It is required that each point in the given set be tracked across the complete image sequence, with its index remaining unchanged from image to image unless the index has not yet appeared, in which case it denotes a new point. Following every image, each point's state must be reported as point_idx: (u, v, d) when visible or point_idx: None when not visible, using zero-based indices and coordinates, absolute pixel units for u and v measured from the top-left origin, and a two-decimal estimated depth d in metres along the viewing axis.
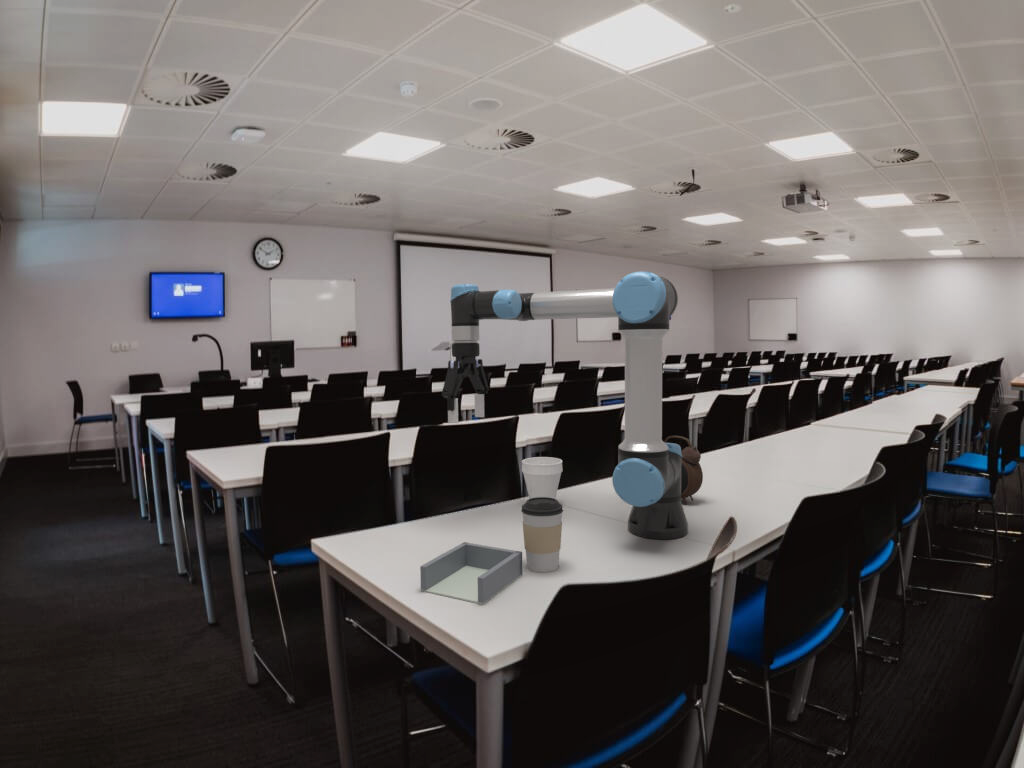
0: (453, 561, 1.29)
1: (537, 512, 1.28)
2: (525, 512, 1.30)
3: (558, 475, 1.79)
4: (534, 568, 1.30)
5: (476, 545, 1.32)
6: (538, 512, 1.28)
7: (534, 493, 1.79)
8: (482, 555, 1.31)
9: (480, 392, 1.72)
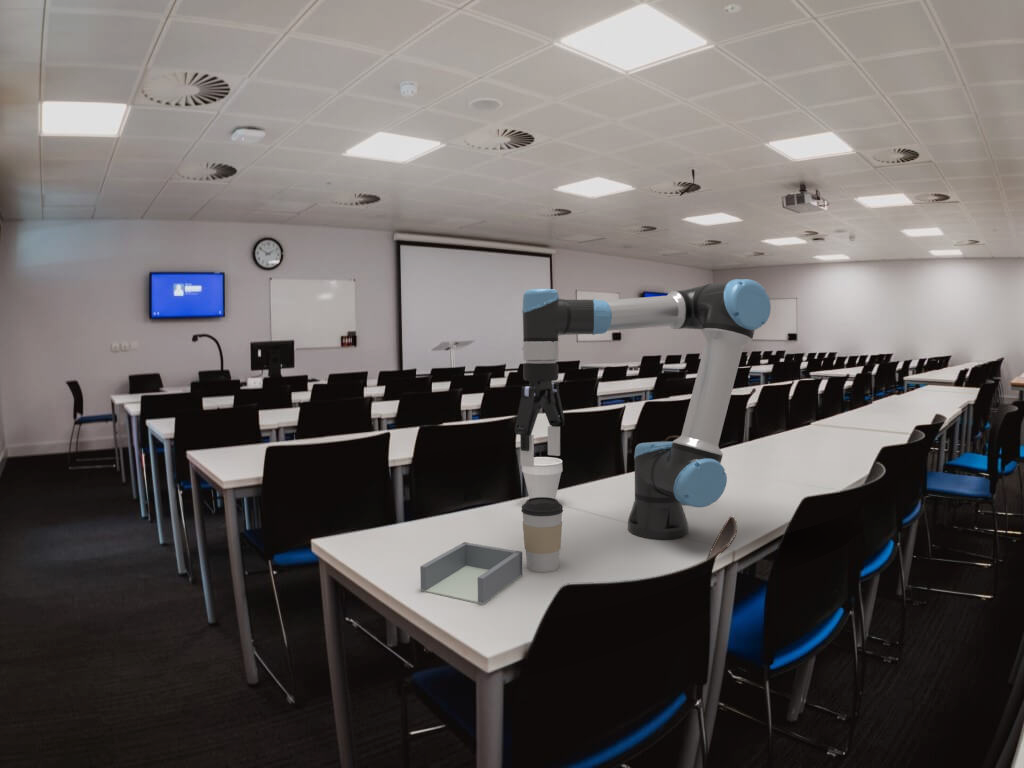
0: (453, 561, 1.29)
1: (537, 512, 1.28)
2: (525, 512, 1.30)
3: (558, 475, 1.79)
4: (534, 568, 1.30)
5: (476, 545, 1.32)
6: (538, 512, 1.28)
7: (534, 493, 1.79)
8: (482, 555, 1.31)
9: (555, 424, 1.37)
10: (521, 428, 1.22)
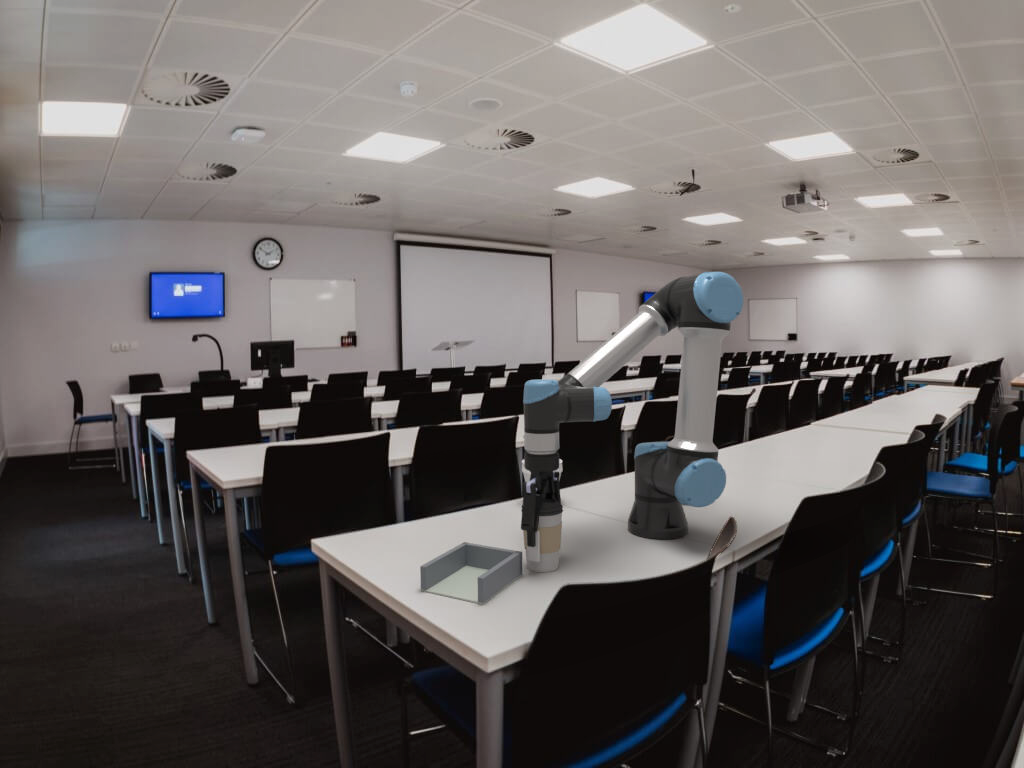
0: (453, 561, 1.29)
1: None
2: None
3: None
4: (534, 568, 1.30)
5: (476, 545, 1.32)
6: None
7: None
8: (482, 555, 1.31)
9: None
10: (527, 526, 1.25)
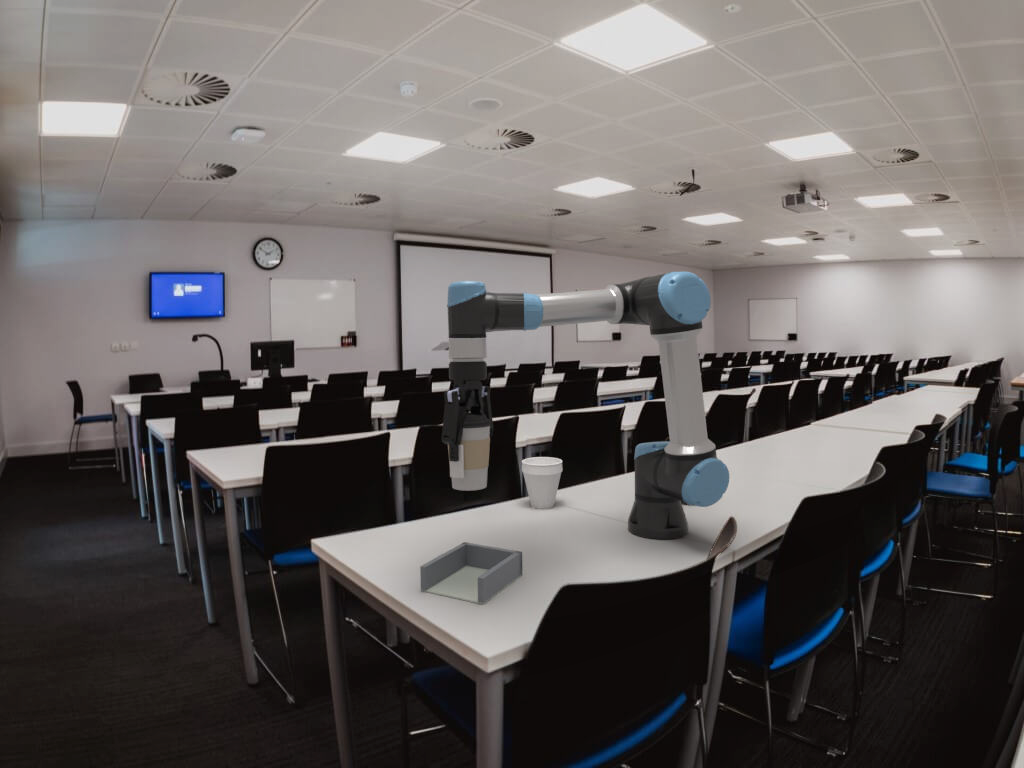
0: (453, 561, 1.29)
1: None
2: None
3: (558, 475, 1.79)
4: (458, 486, 1.20)
5: (476, 545, 1.32)
6: None
7: (534, 493, 1.79)
8: (482, 555, 1.31)
9: None
10: (448, 437, 1.15)
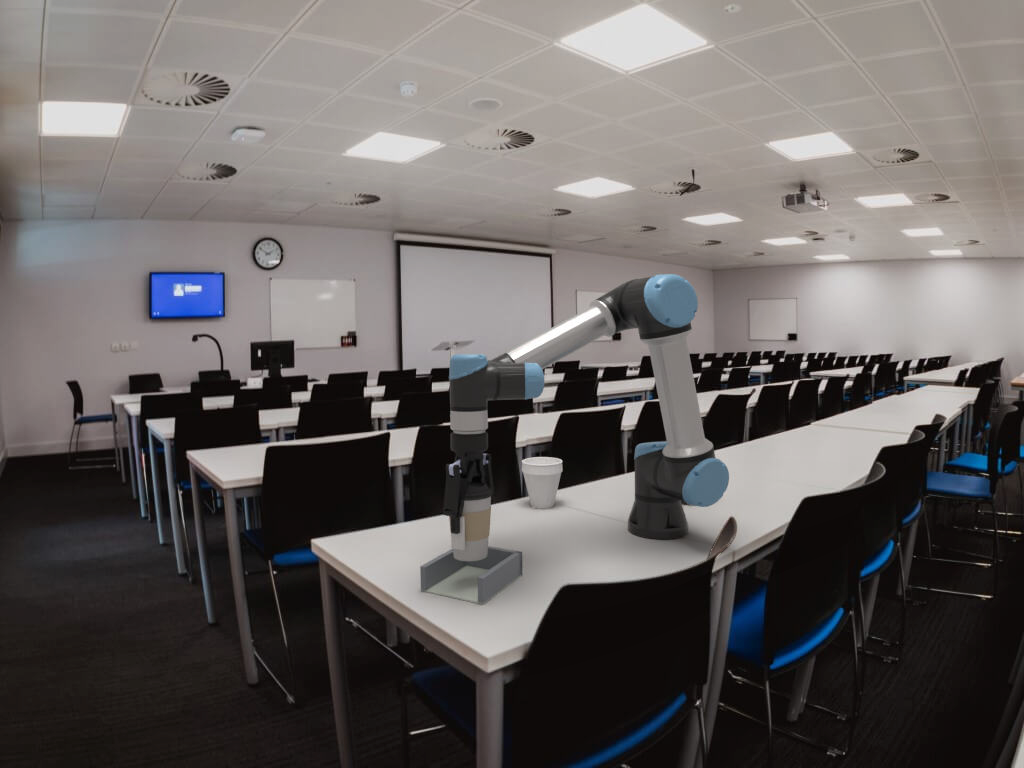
0: (453, 561, 1.29)
1: None
2: None
3: (558, 475, 1.79)
4: (459, 557, 1.21)
5: None
6: None
7: (534, 493, 1.79)
8: None
9: None
10: (450, 511, 1.16)
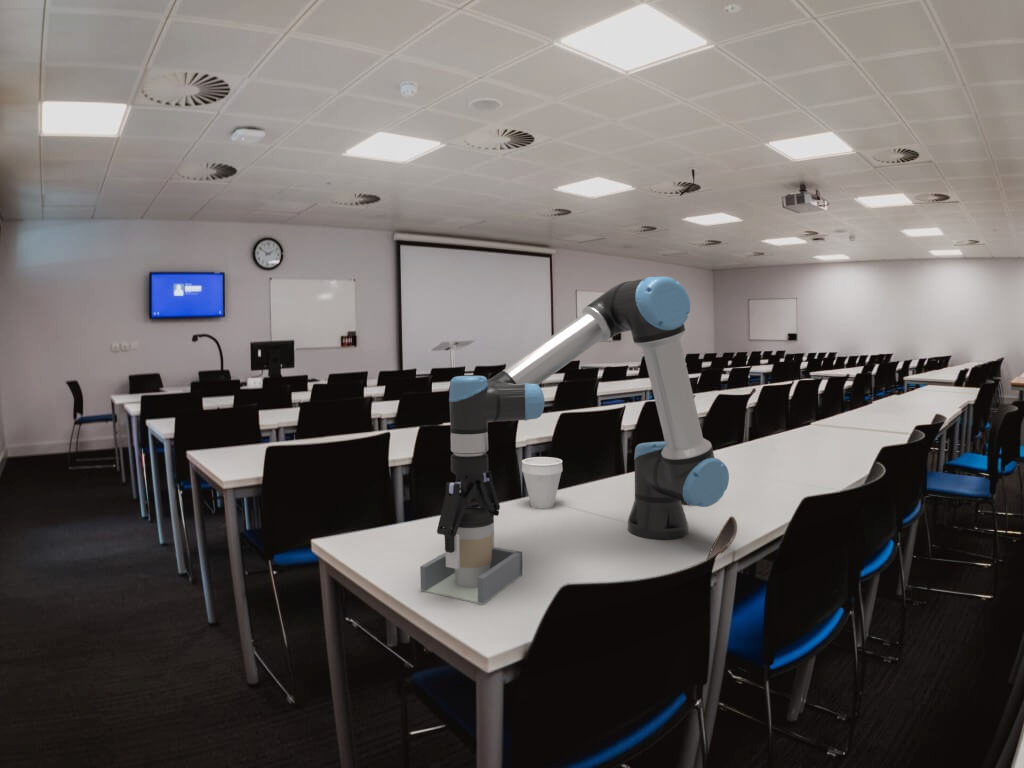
0: None
1: (464, 523, 1.20)
2: None
3: (558, 475, 1.79)
4: (462, 583, 1.22)
5: None
6: (465, 523, 1.20)
7: (534, 493, 1.79)
8: None
9: None
10: (444, 530, 1.14)
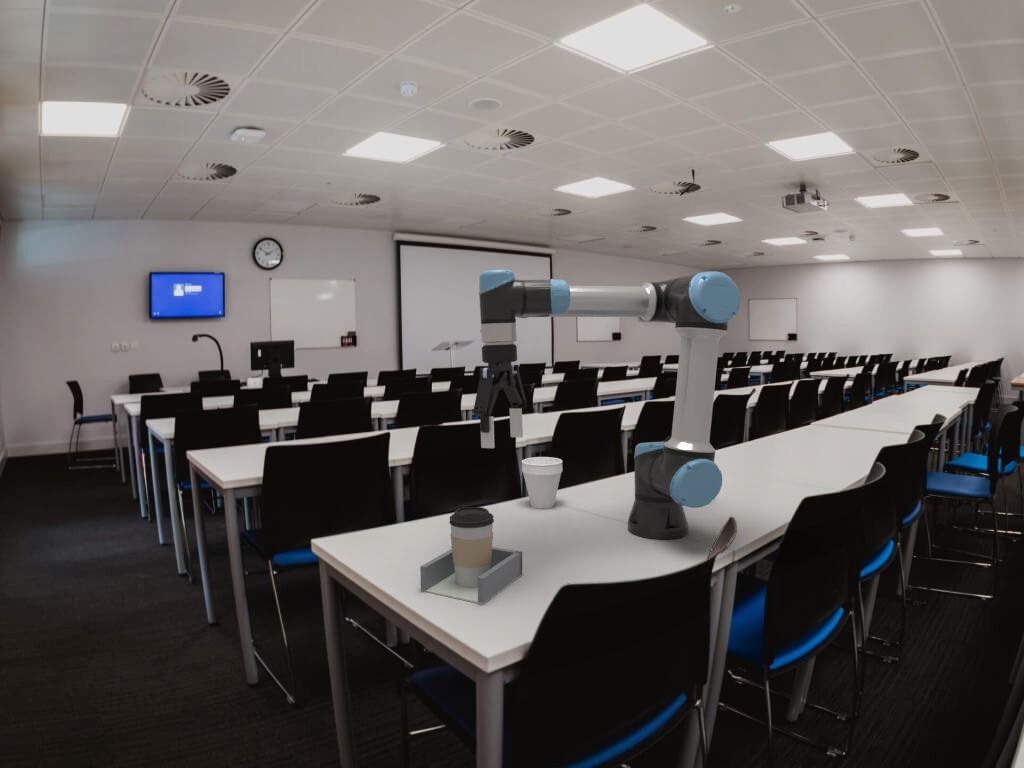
0: None
1: (464, 523, 1.20)
2: (452, 523, 1.21)
3: (558, 475, 1.79)
4: (462, 583, 1.22)
5: None
6: (465, 523, 1.19)
7: (534, 493, 1.79)
8: None
9: (517, 406, 1.37)
10: (480, 410, 1.22)
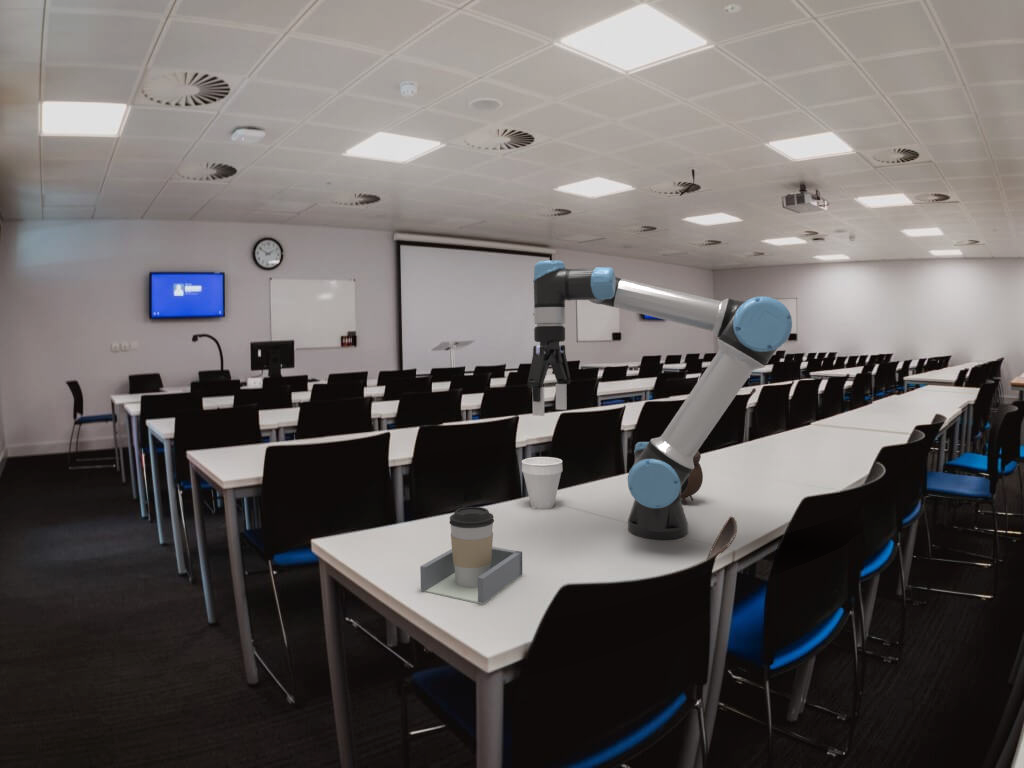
0: None
1: (464, 523, 1.20)
2: (452, 523, 1.21)
3: (558, 475, 1.79)
4: (462, 583, 1.22)
5: None
6: (465, 523, 1.19)
7: (534, 493, 1.79)
8: None
9: (562, 382, 1.55)
10: (533, 381, 1.40)
